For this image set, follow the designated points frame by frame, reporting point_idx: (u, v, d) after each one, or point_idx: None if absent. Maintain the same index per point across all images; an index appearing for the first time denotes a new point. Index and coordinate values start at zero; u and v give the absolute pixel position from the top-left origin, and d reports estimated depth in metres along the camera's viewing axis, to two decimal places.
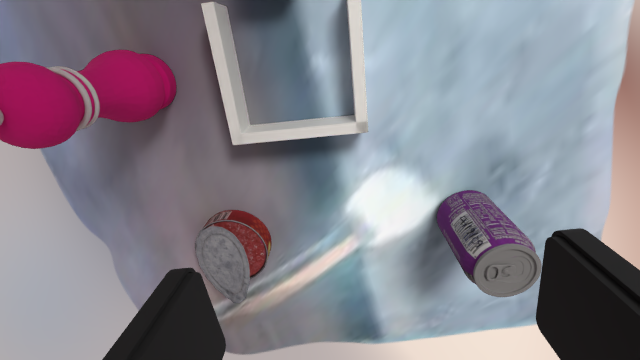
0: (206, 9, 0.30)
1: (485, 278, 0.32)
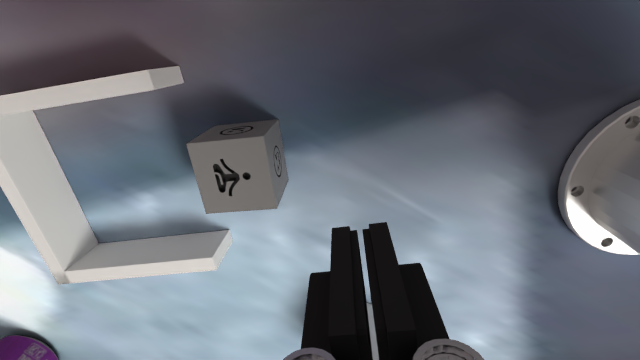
0: (141, 77, 0.20)
1: None
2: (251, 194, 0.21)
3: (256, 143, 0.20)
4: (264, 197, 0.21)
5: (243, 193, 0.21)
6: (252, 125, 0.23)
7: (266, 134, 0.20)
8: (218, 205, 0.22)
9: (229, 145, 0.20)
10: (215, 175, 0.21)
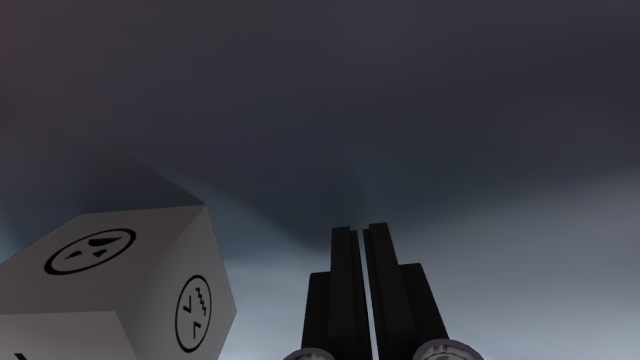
0: None
1: None
2: None
3: (99, 325, 0.07)
4: None
5: None
6: (140, 228, 0.10)
7: (140, 288, 0.08)
8: None
9: (29, 326, 0.07)
10: None
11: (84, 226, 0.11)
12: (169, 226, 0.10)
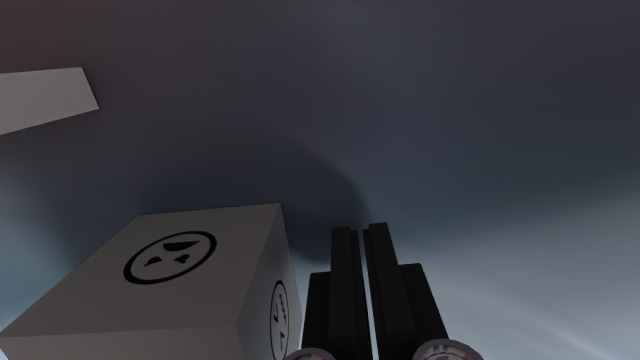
0: None
1: None
2: None
3: (213, 342, 0.06)
4: None
5: None
6: (216, 230, 0.09)
7: (248, 298, 0.07)
8: None
9: (128, 345, 0.06)
10: None
11: (149, 229, 0.10)
12: (249, 227, 0.09)
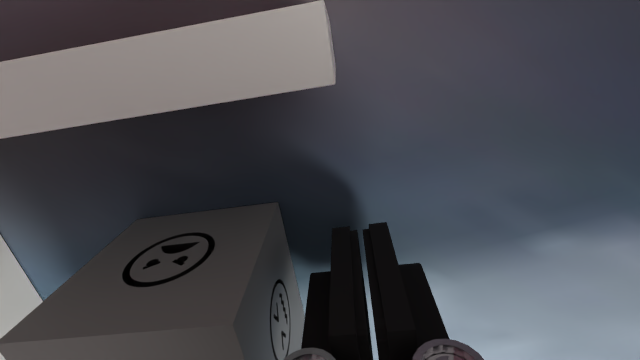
0: (291, 36, 0.05)
1: None
2: None
3: (211, 342, 0.06)
4: None
5: None
6: (214, 231, 0.09)
7: (245, 297, 0.07)
8: None
9: (127, 347, 0.06)
10: None
11: (148, 232, 0.10)
12: (247, 227, 0.09)
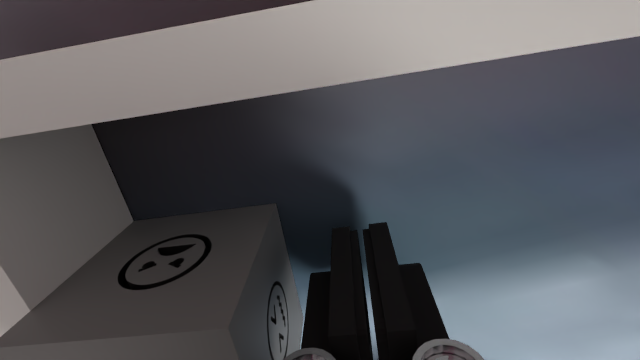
0: None
1: None
2: None
3: (207, 346, 0.06)
4: None
5: None
6: (211, 233, 0.09)
7: (242, 300, 0.07)
8: None
9: (122, 351, 0.06)
10: None
11: (145, 234, 0.10)
12: (244, 229, 0.09)
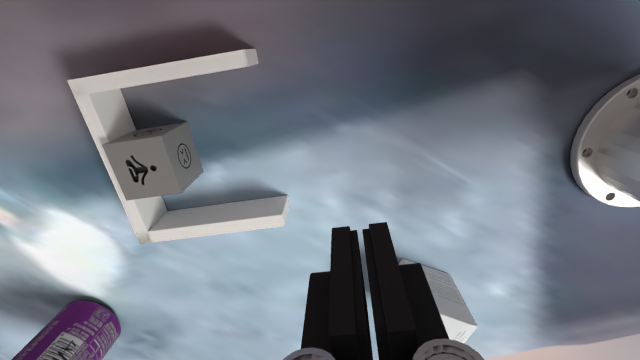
0: (237, 56, 0.23)
1: None
2: (159, 182, 0.27)
3: (156, 141, 0.25)
4: (170, 184, 0.27)
5: (153, 182, 0.27)
6: (163, 128, 0.28)
7: (166, 134, 0.26)
8: (135, 193, 0.27)
9: (136, 144, 0.25)
10: (129, 169, 0.26)
11: (141, 130, 0.29)
12: (173, 126, 0.28)
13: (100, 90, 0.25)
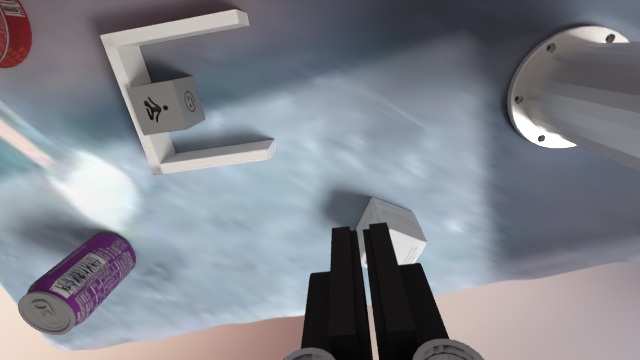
0: (231, 14, 0.30)
1: (33, 300, 0.35)
2: (170, 120, 0.33)
3: (168, 85, 0.32)
4: (178, 121, 0.33)
5: (165, 119, 0.33)
6: (173, 79, 0.35)
7: (176, 81, 0.33)
8: (150, 129, 0.34)
9: (152, 87, 0.32)
10: (146, 108, 0.33)
11: (155, 82, 0.36)
12: None
13: (125, 43, 0.32)
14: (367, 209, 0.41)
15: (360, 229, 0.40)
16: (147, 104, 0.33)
